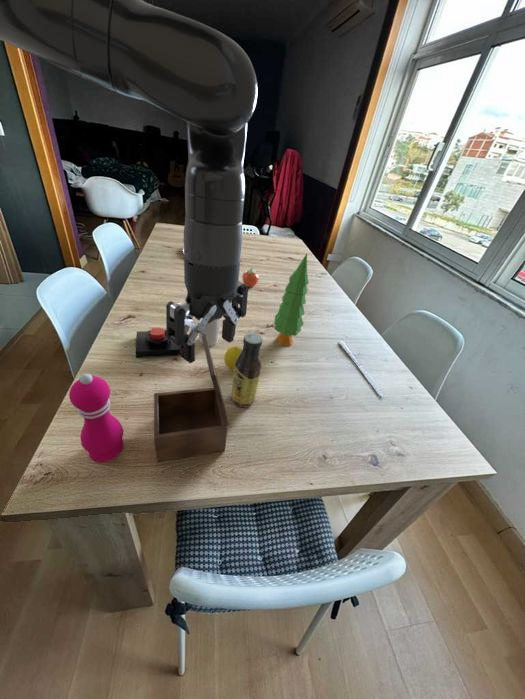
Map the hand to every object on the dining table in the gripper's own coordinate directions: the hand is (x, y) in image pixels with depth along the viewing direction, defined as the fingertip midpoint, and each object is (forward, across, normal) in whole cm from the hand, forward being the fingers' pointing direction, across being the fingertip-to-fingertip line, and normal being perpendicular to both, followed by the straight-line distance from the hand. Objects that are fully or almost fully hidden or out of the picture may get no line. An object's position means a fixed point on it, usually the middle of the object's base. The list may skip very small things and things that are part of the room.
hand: (208, 349), depth 49 cm
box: (+25, +1, -4) cm, 25 cm away
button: (+21, -12, -35) cm, 43 cm away
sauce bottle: (+25, -15, -3) cm, 29 cm away
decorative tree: (+25, -45, -12) cm, 53 cm away
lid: (+10, -3, -1) cm, 10 cm away
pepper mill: (+25, +15, -12) cm, 32 cm away
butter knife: (+25, -53, +13) cm, 60 cm away
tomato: (+25, -68, -48) cm, 87 cm away
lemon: (+25, -22, -13) cm, 36 cm away
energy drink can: (+25, -25, -27) cm, 45 cm away
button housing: (+25, -12, -35) cm, 44 cm away
